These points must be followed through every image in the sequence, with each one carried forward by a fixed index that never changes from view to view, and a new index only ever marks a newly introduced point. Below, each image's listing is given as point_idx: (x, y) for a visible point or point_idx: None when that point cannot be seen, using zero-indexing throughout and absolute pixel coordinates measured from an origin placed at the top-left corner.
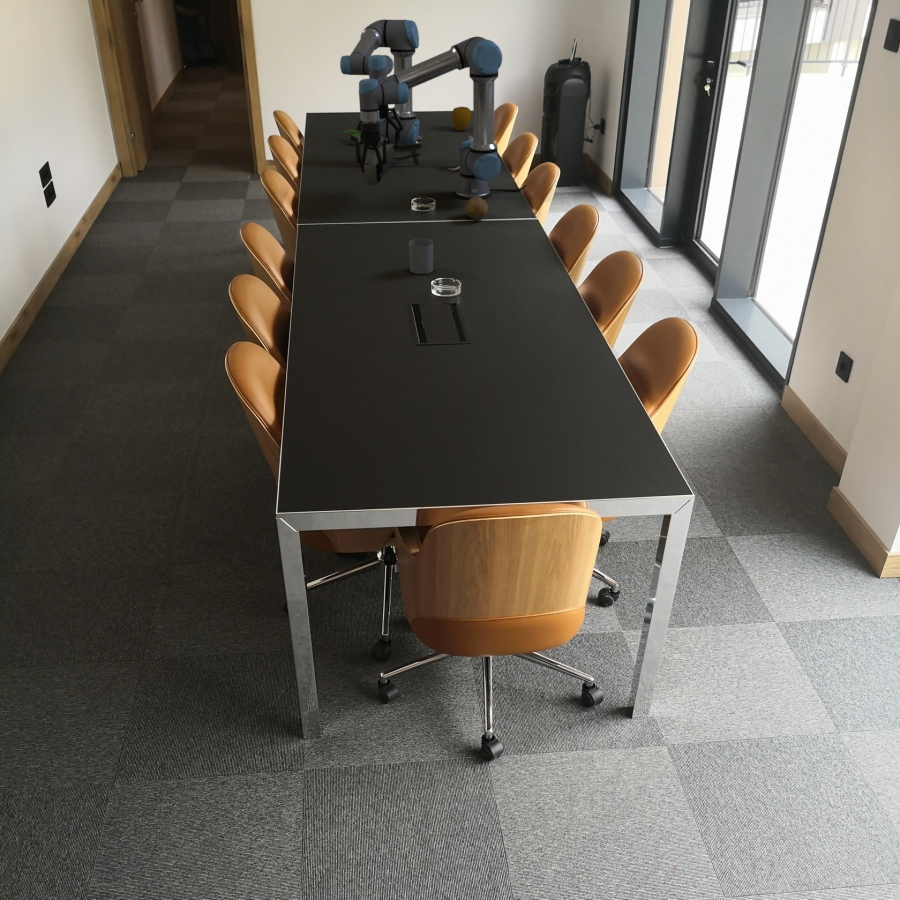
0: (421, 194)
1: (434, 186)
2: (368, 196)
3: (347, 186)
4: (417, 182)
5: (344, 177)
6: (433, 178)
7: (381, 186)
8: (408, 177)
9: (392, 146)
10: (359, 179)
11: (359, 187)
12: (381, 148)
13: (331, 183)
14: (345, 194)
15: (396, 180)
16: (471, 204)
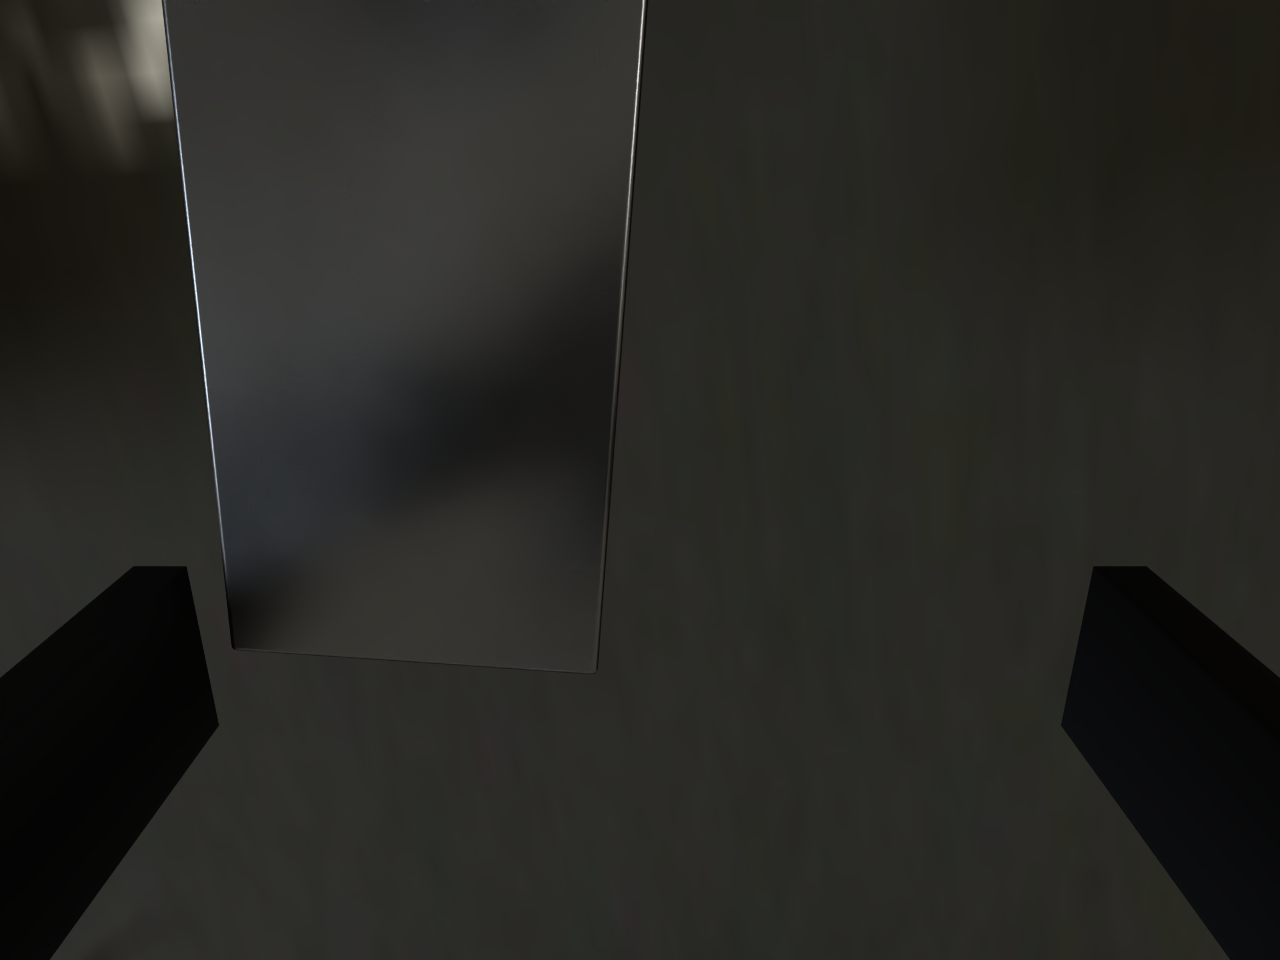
0: (137, 282)
1: None
2: (812, 131)
3: (1093, 538)
4: (322, 728)
5: (1118, 831)
6: (196, 857)
7: (693, 566)
8: (457, 870)
9: (224, 513)
10: (958, 781)
11: (949, 511)
12: (526, 102)
13: (1275, 632)
14: (1127, 202)
15: (560, 775)
16: None
